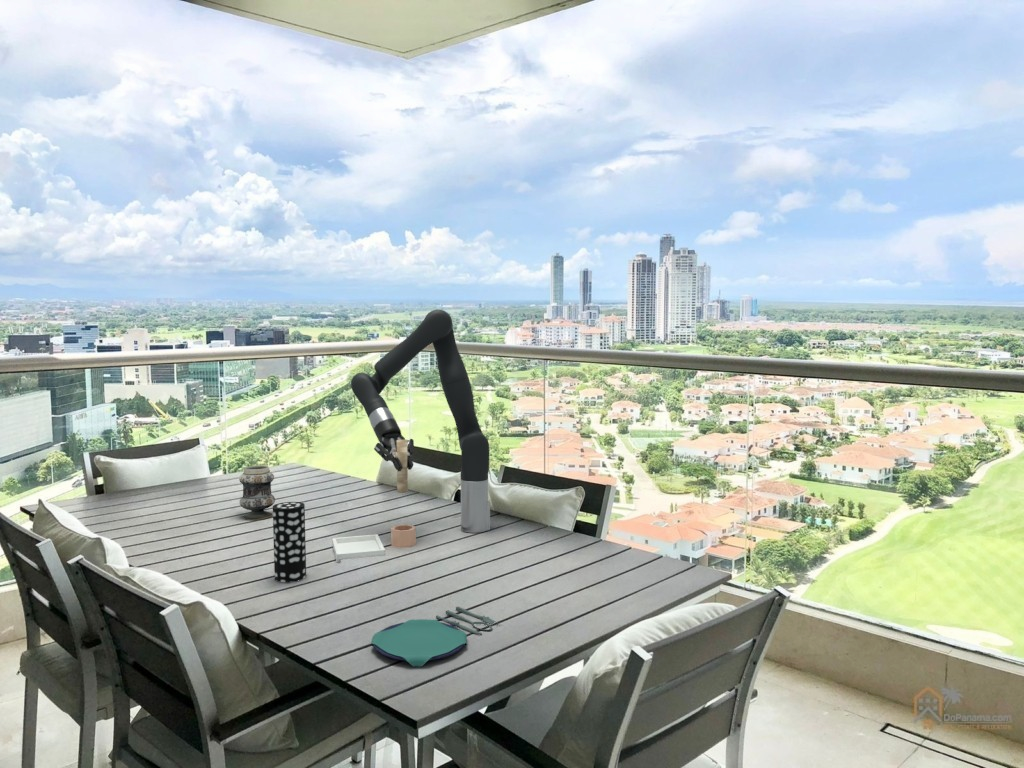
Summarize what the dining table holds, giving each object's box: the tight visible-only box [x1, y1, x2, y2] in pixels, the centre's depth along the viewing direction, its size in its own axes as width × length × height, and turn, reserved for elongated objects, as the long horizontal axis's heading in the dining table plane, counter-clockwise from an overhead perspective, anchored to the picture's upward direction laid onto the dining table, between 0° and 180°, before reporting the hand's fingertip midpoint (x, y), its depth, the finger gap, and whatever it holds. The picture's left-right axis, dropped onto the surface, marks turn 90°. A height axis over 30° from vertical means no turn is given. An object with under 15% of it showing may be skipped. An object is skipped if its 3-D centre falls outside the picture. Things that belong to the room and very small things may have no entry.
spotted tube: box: [272, 501, 307, 583], centre depth 202 cm, size 8×8×20 cm
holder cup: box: [390, 524, 417, 549], centre depth 229 cm, size 8×8×6 cm
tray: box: [331, 534, 386, 564], centre depth 224 cm, size 14×17×2 cm
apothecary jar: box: [238, 465, 276, 521], centre depth 265 cm, size 12×12×18 cm
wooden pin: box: [396, 439, 409, 494], centre depth 228 cm, size 3×3×16 cm
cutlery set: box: [370, 605, 497, 667], centre depth 163 cm, size 20×30×2 cm, turn 139°
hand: (405, 468), depth 226 cm, fingers closed on wooden pin, 3 cm apart
